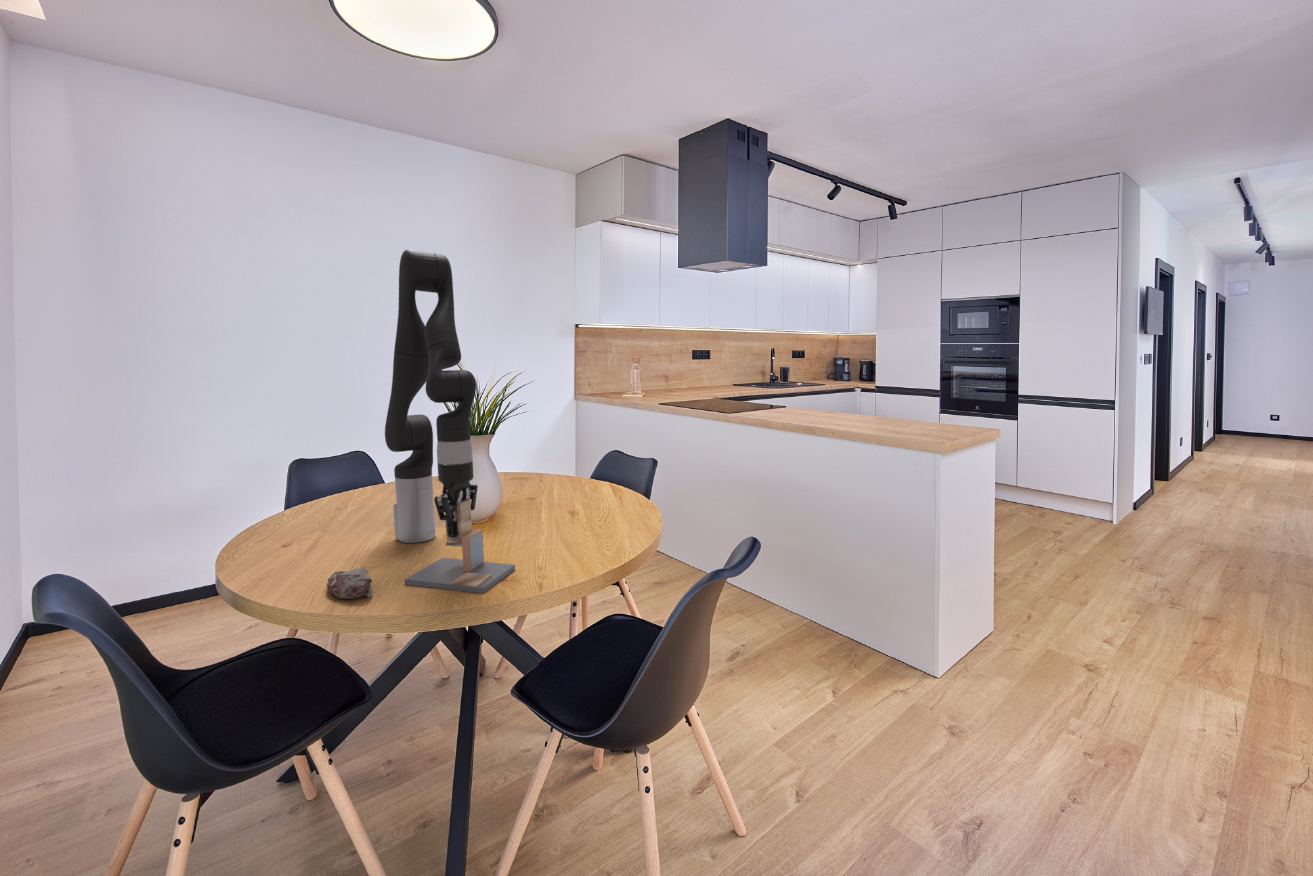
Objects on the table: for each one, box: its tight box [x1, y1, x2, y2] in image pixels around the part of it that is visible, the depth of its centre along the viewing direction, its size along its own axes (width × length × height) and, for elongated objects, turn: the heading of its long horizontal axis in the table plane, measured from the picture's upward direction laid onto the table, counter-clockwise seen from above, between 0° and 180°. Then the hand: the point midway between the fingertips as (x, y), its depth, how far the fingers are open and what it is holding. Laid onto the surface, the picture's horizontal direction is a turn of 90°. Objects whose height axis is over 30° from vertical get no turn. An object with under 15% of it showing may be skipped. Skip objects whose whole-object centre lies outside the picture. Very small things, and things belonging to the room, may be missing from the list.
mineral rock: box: [326, 565, 373, 600], centre depth 126 cm, size 15×8×4 cm, turn 33°
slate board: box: [403, 557, 516, 594], centre depth 134 cm, size 19×14×1 cm
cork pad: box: [451, 572, 491, 587], centre depth 129 cm, size 6×6×1 cm
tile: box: [461, 528, 485, 572], centre depth 137 cm, size 2×6×8 cm, turn 166°
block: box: [445, 499, 473, 548], centre depth 136 cm, size 4×4×10 cm
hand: (459, 533), depth 137 cm, fingers closed on block, 4 cm apart
